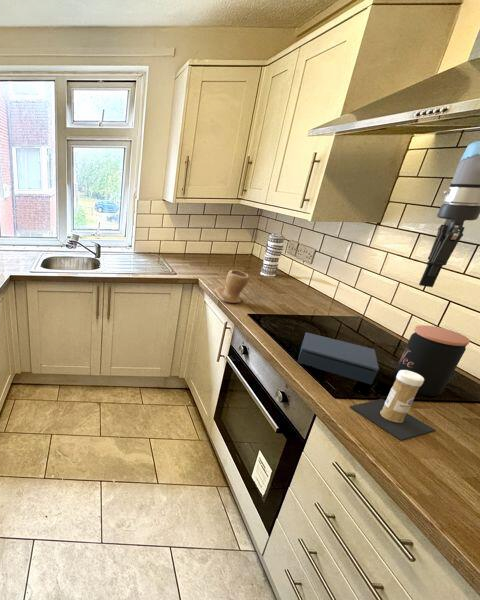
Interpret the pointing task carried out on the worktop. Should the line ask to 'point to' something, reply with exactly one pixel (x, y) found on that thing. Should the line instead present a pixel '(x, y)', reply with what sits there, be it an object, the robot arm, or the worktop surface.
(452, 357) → the coffee jar
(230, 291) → the stone cup
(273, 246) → the leaning tower model
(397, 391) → the sprinkles bottle
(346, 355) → the chest lid
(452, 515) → the worktop surface
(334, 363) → the chest
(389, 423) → the mat
